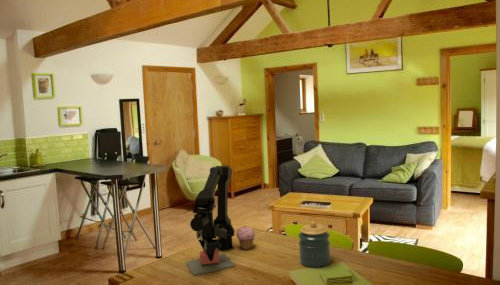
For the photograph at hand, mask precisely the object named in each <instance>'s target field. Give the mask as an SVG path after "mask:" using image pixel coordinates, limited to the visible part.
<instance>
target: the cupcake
mask: <svg viewBox="0 0 500 285" xmlns="http://www.w3.org/2000/svg"><path fill="white" fill-rule="evenodd" d="M255 236H256V234H255V230H254V229H253V227H251V226H243V227H239V228H238V230H237V231H236V238H237V239H238V240H239V245H240V248H242V249H243V250H248V249H251V248H252V247H253V244H254V239H255Z"/></svg>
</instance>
